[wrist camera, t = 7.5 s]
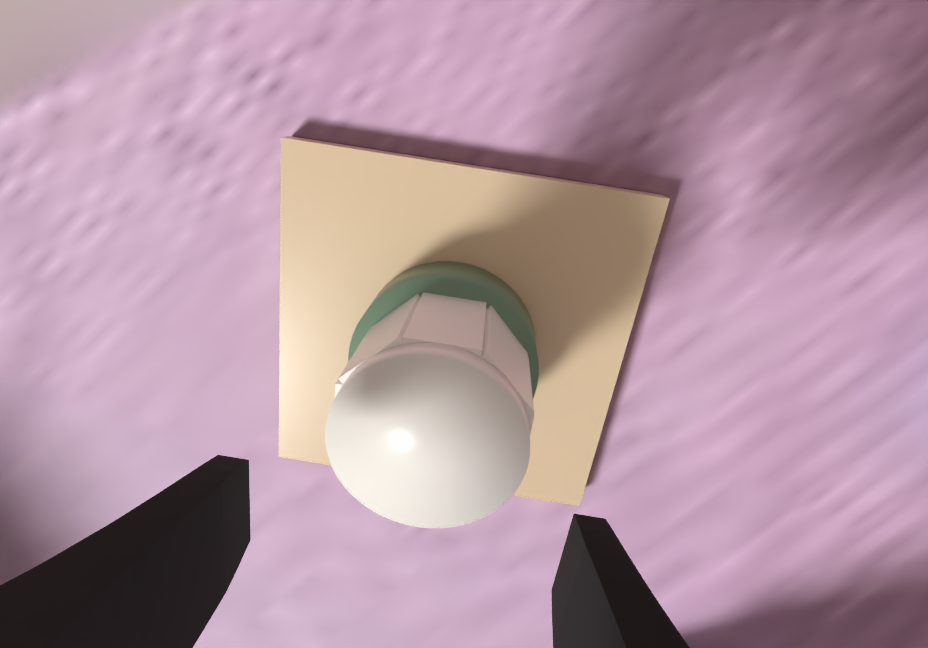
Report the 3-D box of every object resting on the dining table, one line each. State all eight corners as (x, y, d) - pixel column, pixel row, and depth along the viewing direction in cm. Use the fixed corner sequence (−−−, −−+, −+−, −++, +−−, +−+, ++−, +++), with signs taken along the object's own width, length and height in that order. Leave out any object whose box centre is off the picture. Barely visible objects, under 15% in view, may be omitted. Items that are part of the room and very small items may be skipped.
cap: (538, 310, 15) (550, 374, 12) (508, 449, 17) (510, 542, 13) (371, 283, 15) (329, 338, 12) (360, 425, 17) (321, 510, 14)
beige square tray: (662, 194, 16) (738, 234, 11) (576, 492, 21) (601, 621, 16) (290, 136, 17) (189, 148, 11) (286, 444, 21) (213, 557, 16)
